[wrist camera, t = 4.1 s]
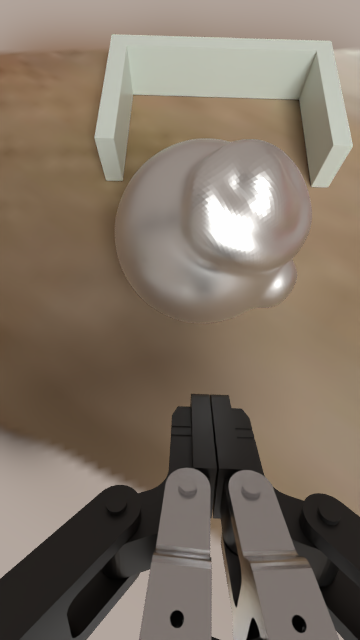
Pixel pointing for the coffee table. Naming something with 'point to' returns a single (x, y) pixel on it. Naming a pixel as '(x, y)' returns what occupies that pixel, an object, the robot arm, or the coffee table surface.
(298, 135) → the coffee table surface
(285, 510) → the robot arm
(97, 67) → the coffee table surface
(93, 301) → the coffee table surface
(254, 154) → the ghost figurine
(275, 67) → the grey u-shaped frame
